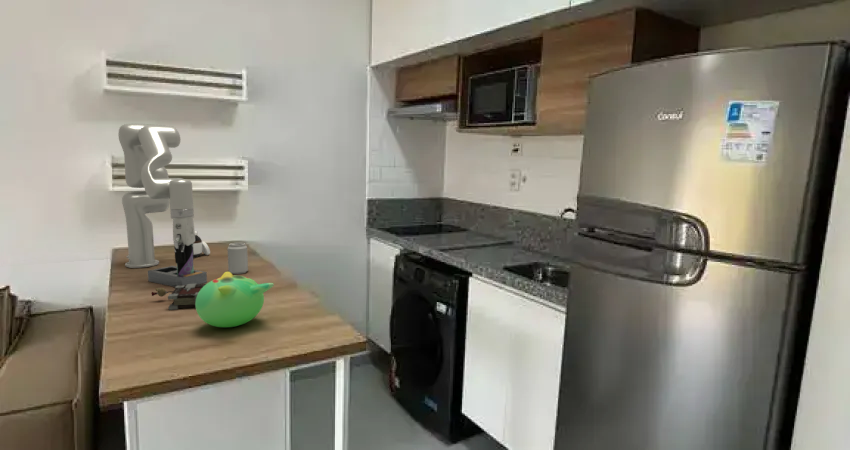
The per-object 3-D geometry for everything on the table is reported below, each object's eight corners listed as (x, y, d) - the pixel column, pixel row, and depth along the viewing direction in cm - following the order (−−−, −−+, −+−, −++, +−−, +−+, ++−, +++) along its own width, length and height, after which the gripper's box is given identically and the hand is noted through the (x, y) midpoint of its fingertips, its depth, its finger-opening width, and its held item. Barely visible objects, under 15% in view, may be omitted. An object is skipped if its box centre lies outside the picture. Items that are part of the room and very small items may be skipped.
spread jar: (175, 257, 227) (174, 232, 225) (193, 253, 238) (192, 229, 236) (197, 259, 223) (195, 234, 222) (214, 254, 234) (213, 230, 232)
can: (251, 270, 203) (250, 241, 201) (243, 274, 195) (241, 245, 194) (234, 270, 204) (232, 241, 202) (224, 274, 196) (223, 244, 195)
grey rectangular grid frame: (148, 281, 184) (147, 270, 184) (173, 275, 193) (172, 265, 192) (182, 288, 175) (181, 276, 174) (207, 282, 183) (206, 271, 183)
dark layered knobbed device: (231, 307, 155) (230, 291, 155) (143, 313, 149) (141, 296, 148) (235, 294, 169) (235, 280, 169) (155, 299, 163) (154, 284, 162)
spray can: (182, 286, 178) (179, 231, 175) (175, 283, 181) (172, 229, 178) (197, 283, 182) (194, 229, 179) (189, 280, 185) (186, 228, 183)
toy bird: (245, 311, 150) (243, 264, 148) (278, 323, 140) (276, 273, 138) (186, 326, 136) (183, 275, 134) (217, 341, 126) (214, 285, 124)
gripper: (185, 216, 170) (188, 265, 172) (200, 211, 187) (202, 255, 189) (162, 216, 169) (165, 265, 171) (179, 211, 186) (181, 255, 188)
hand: (184, 260), depth 180 cm, fingers open, 9 cm apart
